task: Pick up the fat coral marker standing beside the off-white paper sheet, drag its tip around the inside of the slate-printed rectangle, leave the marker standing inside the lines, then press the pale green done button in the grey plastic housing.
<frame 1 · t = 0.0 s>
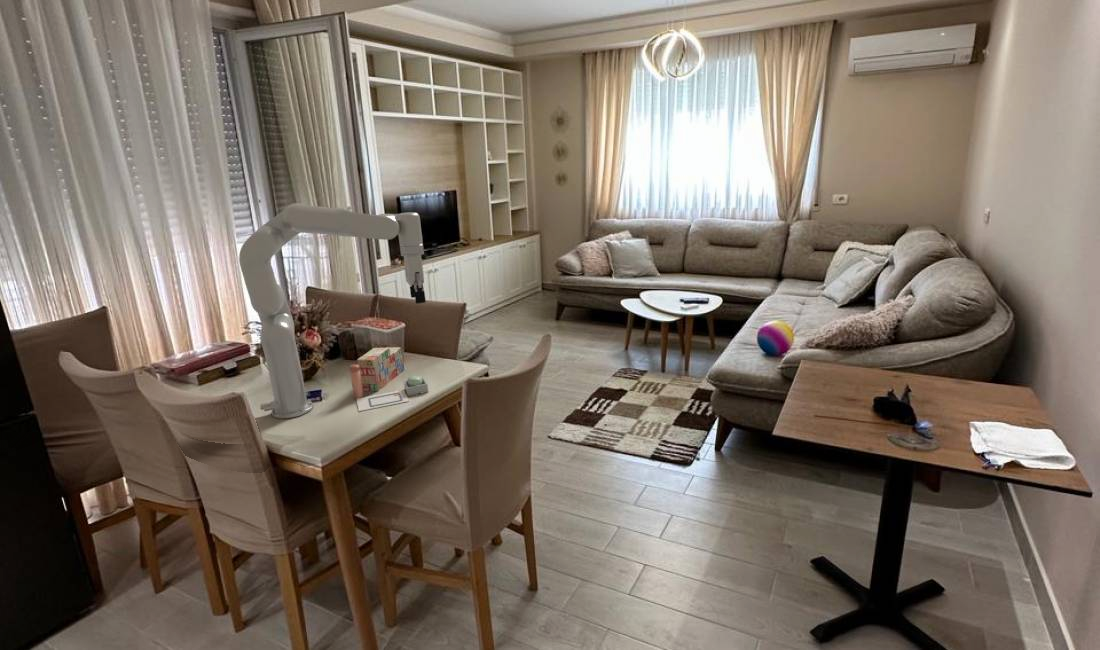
hand: (418, 299, 197), 31 cm above the table, fingers open, 9 cm apart
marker: (358, 397, 198), on the table
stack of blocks: (384, 380, 212), on the table
done button: (415, 382, 200), point 3 cm above the table, slide at 0.0 cm
button housing: (416, 390, 201), on the table
sheet: (382, 400, 194), on the table
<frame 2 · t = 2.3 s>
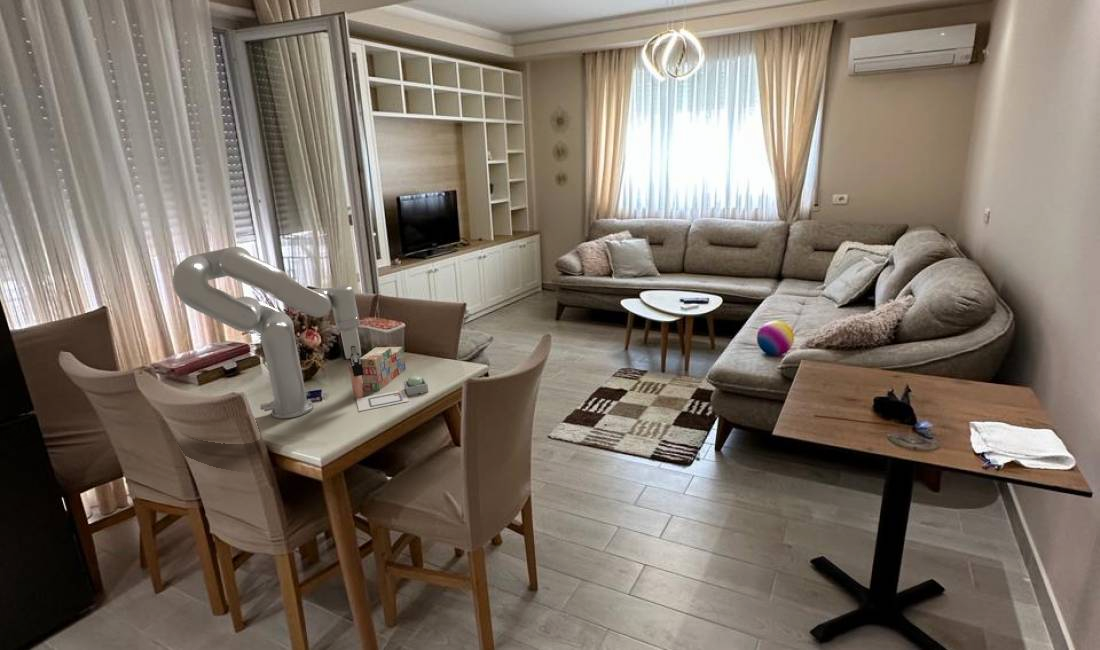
hand: (357, 370, 195), 10 cm above the table, fingers open, 9 cm apart
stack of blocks: (386, 380, 213), on the table, touching gripper
everything else where it was.
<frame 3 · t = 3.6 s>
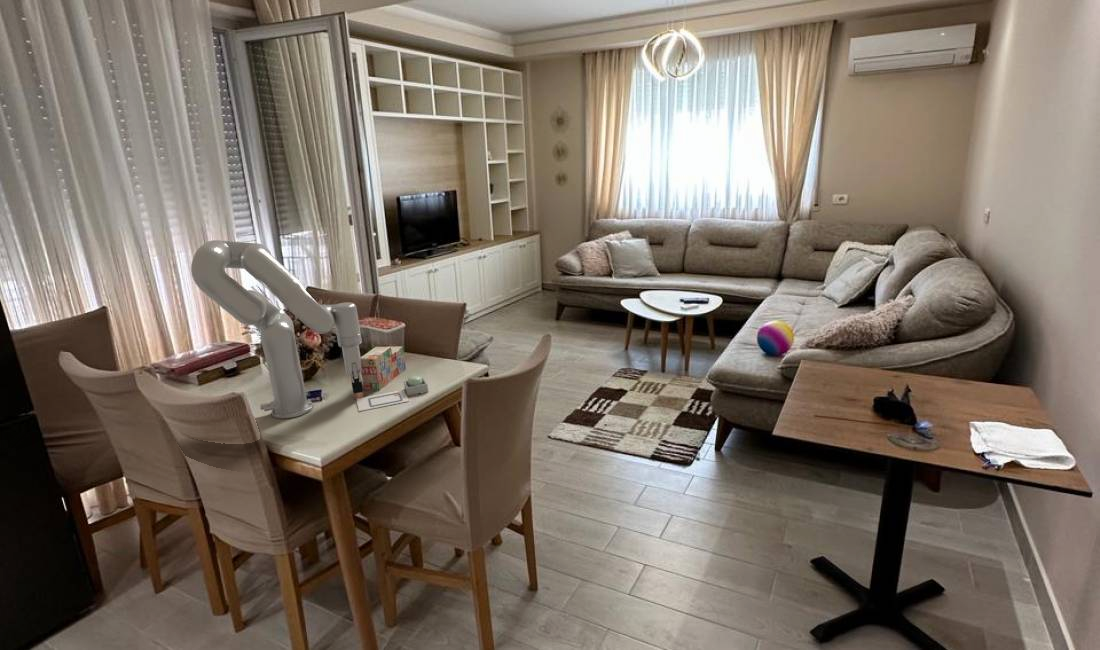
hand: (357, 390, 197), 3 cm above the table, fingers closed on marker, 3 cm apart
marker: (359, 397, 198), on the table, touching gripper, sheet
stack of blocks: (386, 379, 213), on the table
everything else where it was.
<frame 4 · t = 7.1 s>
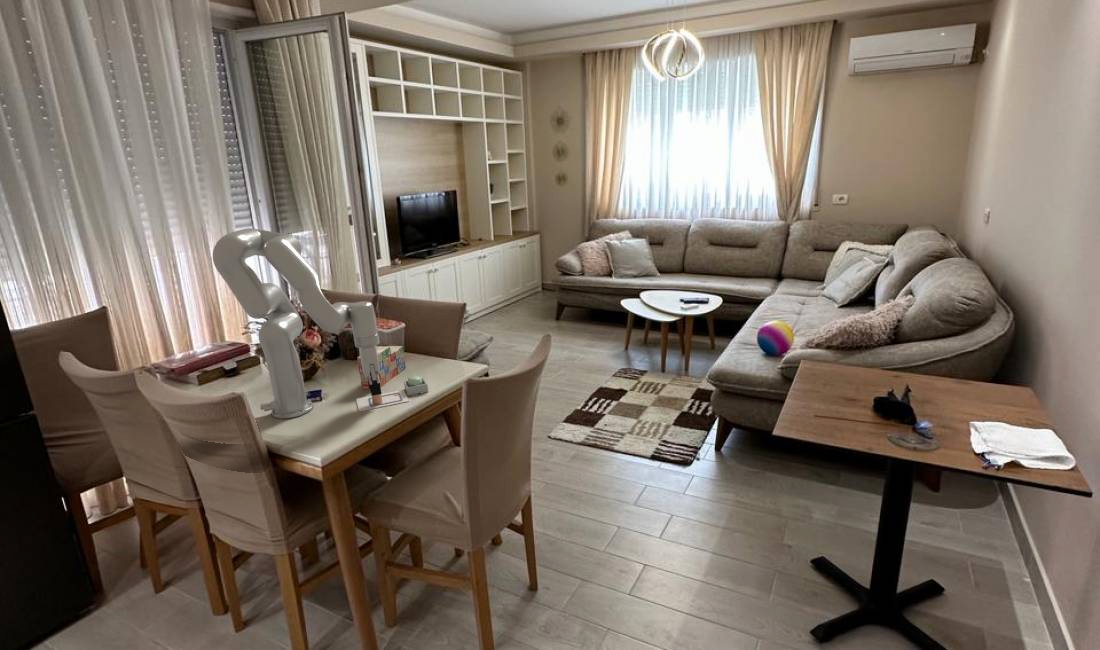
hand: (375, 392, 190), 4 cm above the table, fingers closed on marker, 3 cm apart
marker: (377, 403, 191), resting on sheet, touching gripper
when the fingers open (4 cm above the table, at t = 10.4 s): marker stays where it is, resting on sheet.
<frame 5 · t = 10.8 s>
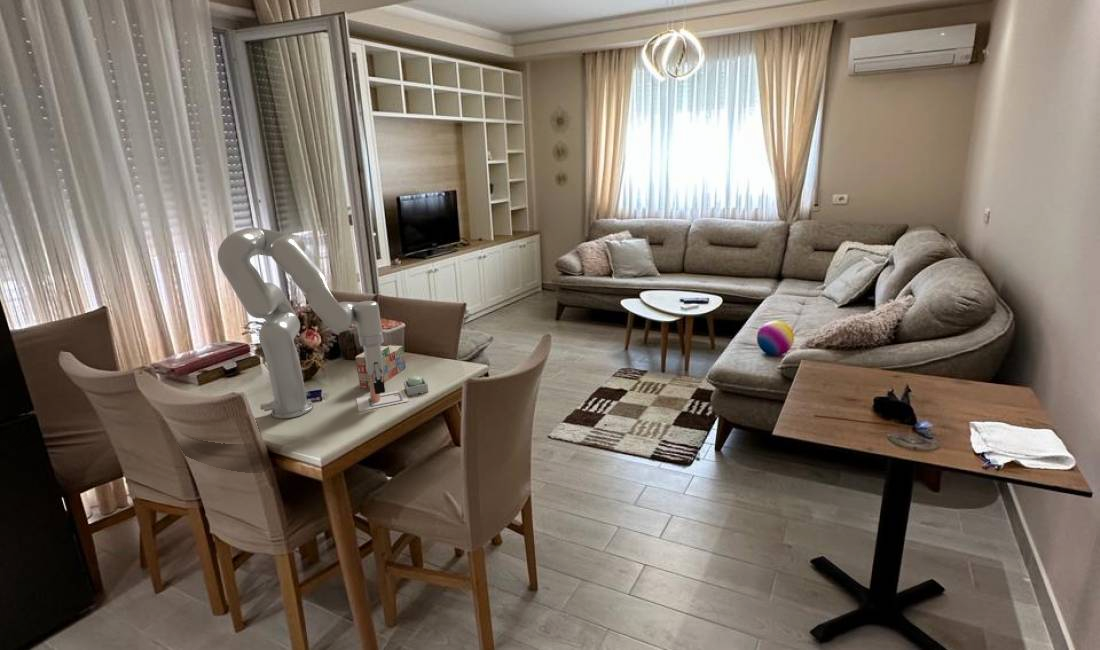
hand: (378, 388, 193), 4 cm above the table, fingers open, 7 cm apart
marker: (375, 400, 193), point 1 cm above the table, tilted 7°, touching sheet
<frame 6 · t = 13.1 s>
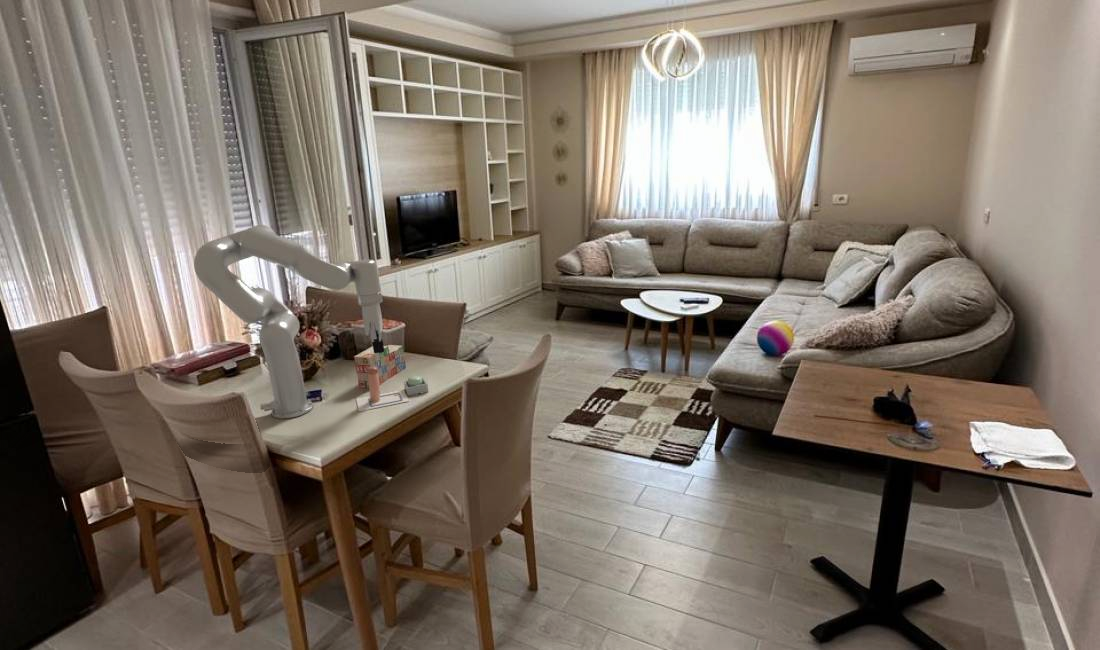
hand: (379, 351, 190), 17 cm above the table, fingers closed
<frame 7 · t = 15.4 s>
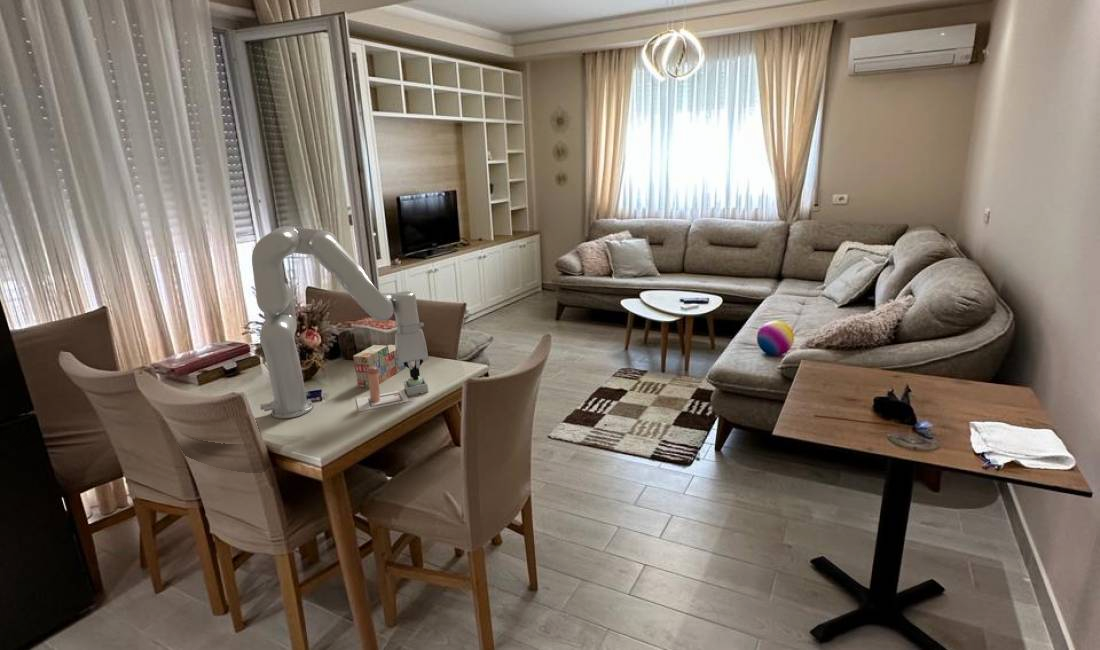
hand: (415, 378, 199), 4 cm above the table, fingers closed
done button: (415, 382, 200), point 3 cm above the table, slide at 0.2 cm, touching gripper
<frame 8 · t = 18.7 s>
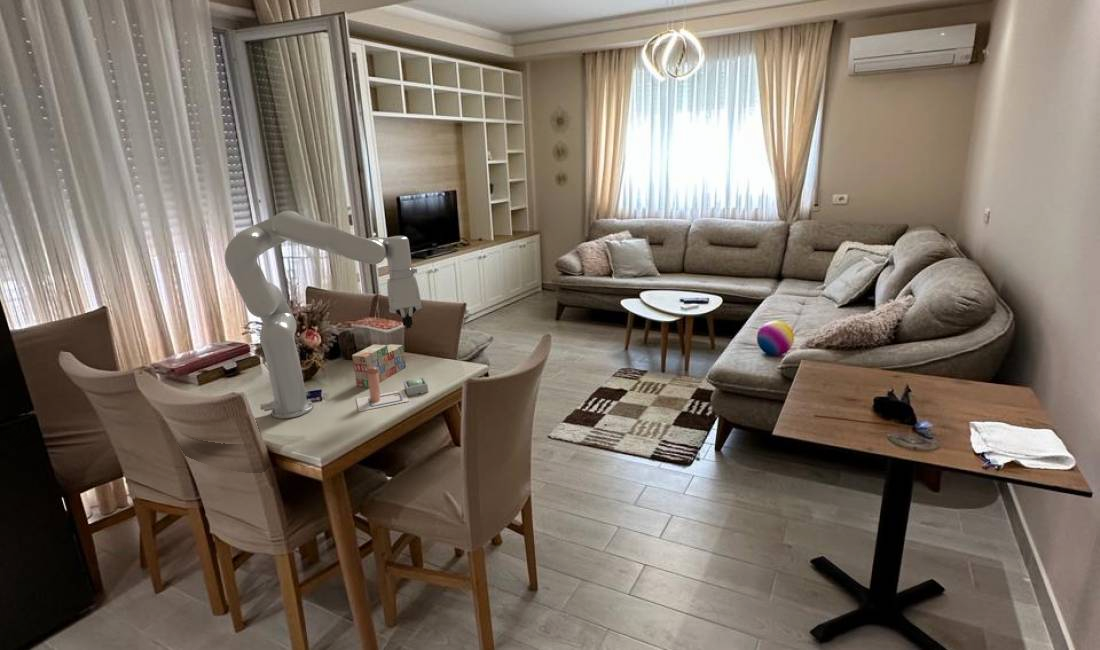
hand: (408, 327, 194), 23 cm above the table, fingers closed
done button: (415, 385, 200), point 2 cm above the table, slide at 1.1 cm
at the end: done button slide at 1.1 cm; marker inside the target area (3.2 cm from its centre), resting on sheet; the gripper is holding nothing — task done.
